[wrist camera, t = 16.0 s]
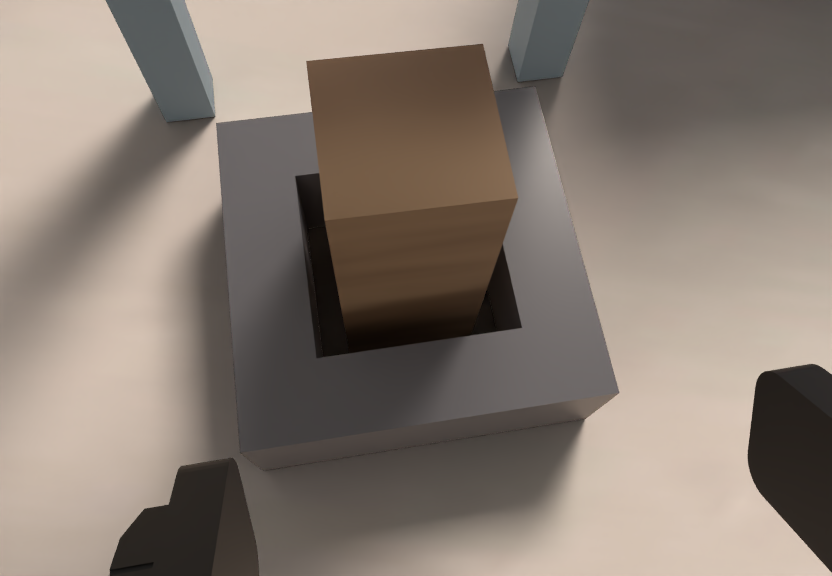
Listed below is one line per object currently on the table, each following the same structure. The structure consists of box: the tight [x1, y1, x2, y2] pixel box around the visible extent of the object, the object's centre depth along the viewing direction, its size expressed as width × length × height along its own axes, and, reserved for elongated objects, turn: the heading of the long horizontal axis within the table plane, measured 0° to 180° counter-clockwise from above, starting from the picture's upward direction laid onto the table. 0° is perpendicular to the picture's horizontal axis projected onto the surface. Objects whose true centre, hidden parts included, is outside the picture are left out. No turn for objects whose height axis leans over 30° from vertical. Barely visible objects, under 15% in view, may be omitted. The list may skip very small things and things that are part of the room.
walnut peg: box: [306, 44, 518, 353], centre depth 22 cm, size 4×4×11 cm
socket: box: [216, 86, 619, 471], centre depth 25 cm, size 12×12×4 cm
